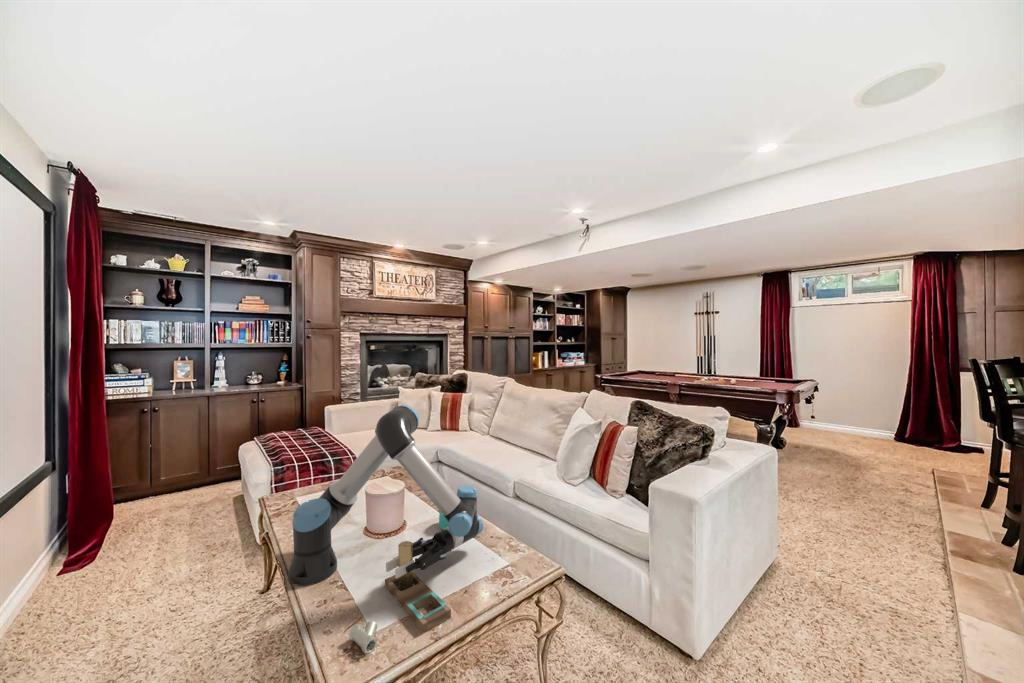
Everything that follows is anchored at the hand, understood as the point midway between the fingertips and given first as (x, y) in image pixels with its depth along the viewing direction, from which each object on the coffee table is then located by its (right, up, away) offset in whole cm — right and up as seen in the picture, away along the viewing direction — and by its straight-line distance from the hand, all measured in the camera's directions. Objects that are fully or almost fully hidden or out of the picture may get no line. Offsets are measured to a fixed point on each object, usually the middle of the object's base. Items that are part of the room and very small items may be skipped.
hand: (391, 570), depth 124 cm
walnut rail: (+8, -9, -1) cm, 12 cm away
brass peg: (+3, -8, +4) cm, 10 cm away
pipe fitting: (-1, -10, -16) cm, 19 cm away
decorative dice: (+11, -7, +46) cm, 48 cm away
